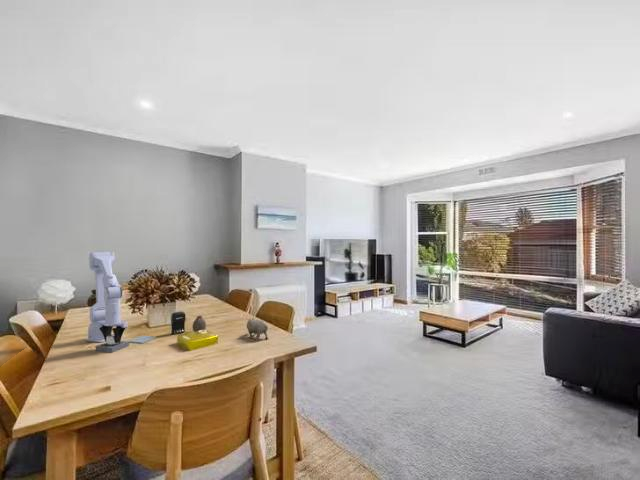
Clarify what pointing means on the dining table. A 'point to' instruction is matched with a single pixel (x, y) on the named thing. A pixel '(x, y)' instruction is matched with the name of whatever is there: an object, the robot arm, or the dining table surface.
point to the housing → (112, 349)
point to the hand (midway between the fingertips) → (112, 341)
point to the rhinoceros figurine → (257, 327)
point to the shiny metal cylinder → (111, 340)
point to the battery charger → (178, 322)
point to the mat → (142, 339)
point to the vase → (199, 324)
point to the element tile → (197, 339)
